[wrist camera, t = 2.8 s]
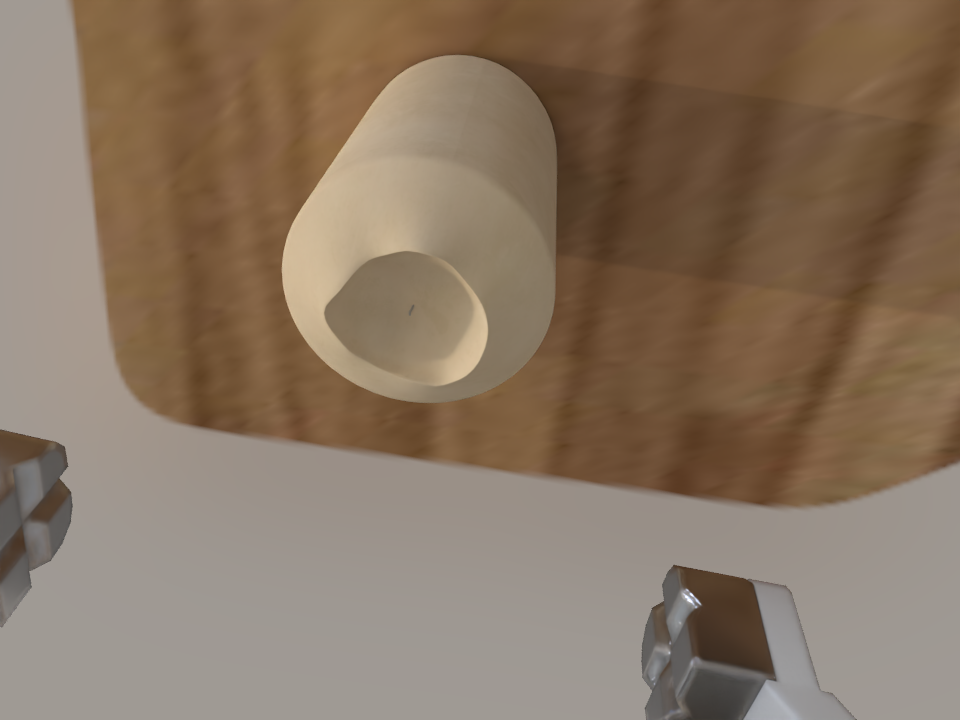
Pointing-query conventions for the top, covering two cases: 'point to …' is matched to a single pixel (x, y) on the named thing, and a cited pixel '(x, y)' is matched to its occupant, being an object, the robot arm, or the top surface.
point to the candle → (432, 236)
